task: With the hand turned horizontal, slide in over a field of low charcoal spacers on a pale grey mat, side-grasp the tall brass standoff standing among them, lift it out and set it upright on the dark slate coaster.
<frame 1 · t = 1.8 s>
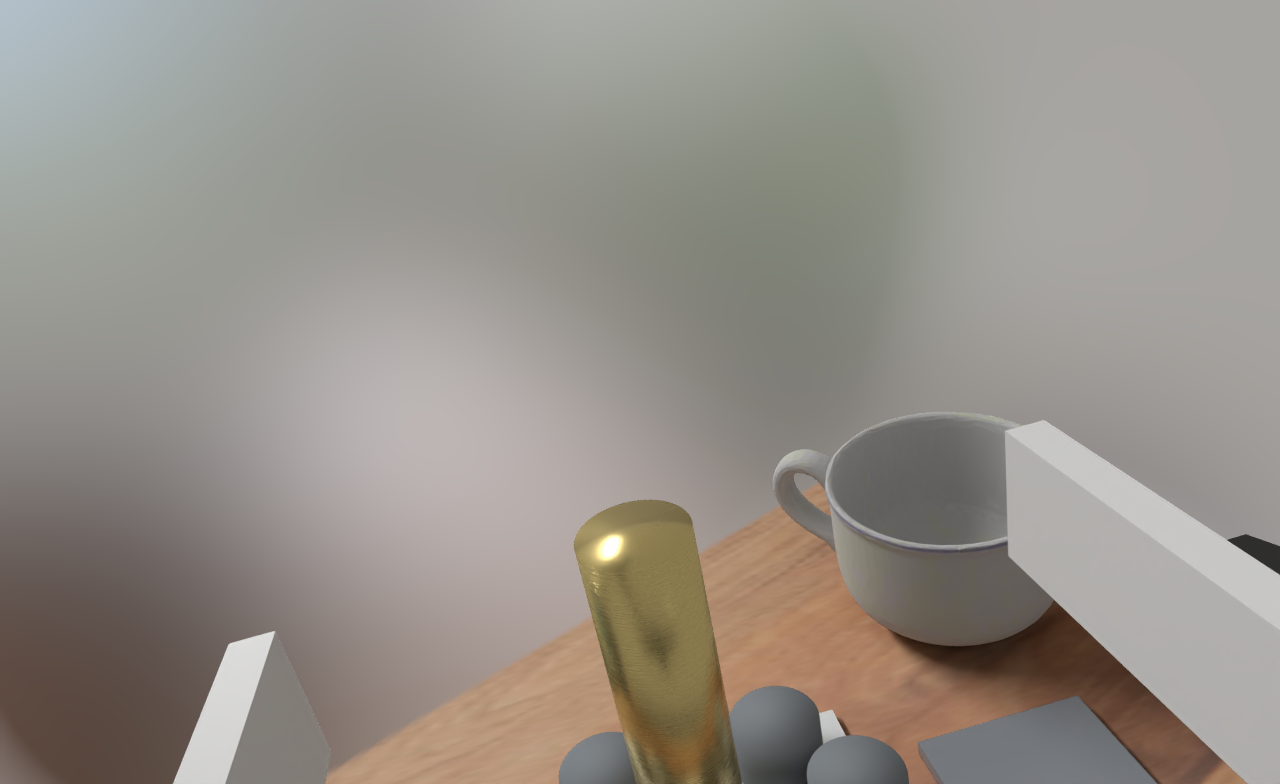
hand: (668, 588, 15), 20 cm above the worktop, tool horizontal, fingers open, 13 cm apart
teacup: (918, 597, 44), on the worktop
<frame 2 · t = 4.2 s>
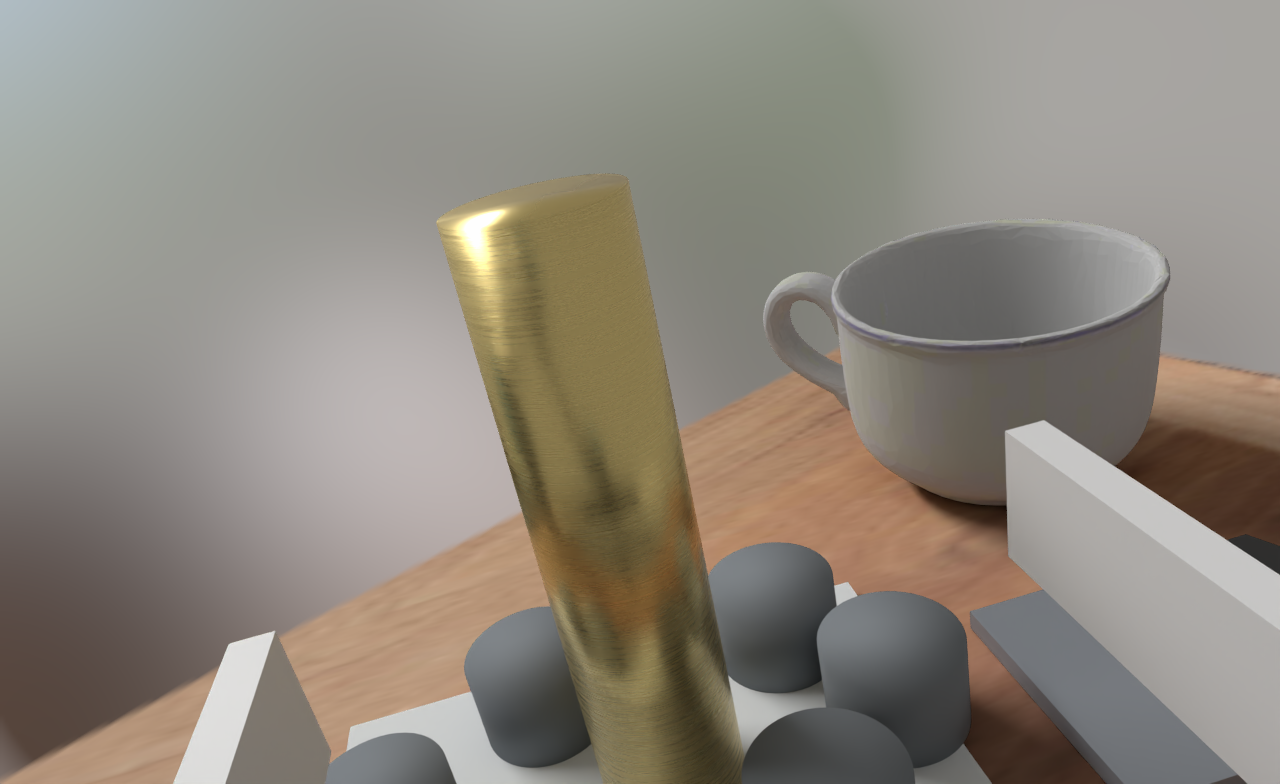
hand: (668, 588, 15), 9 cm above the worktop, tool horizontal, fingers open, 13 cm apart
standoff: (677, 780, 22), resting on spacer mat
teacup: (953, 460, 34), on the worktop
slate coaster: (1167, 673, 22), on the worktop
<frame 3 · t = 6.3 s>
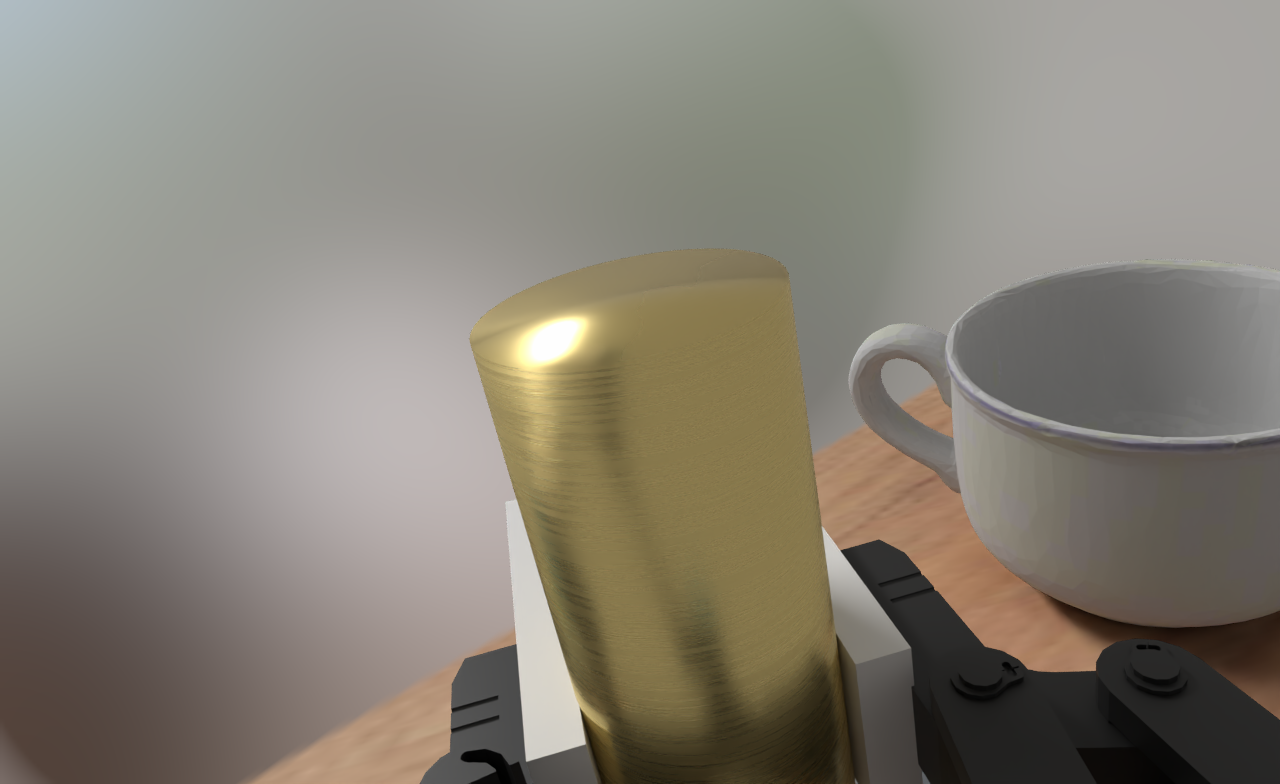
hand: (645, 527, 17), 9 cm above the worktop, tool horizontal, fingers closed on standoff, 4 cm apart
teacup: (1085, 554, 28), on the worktop
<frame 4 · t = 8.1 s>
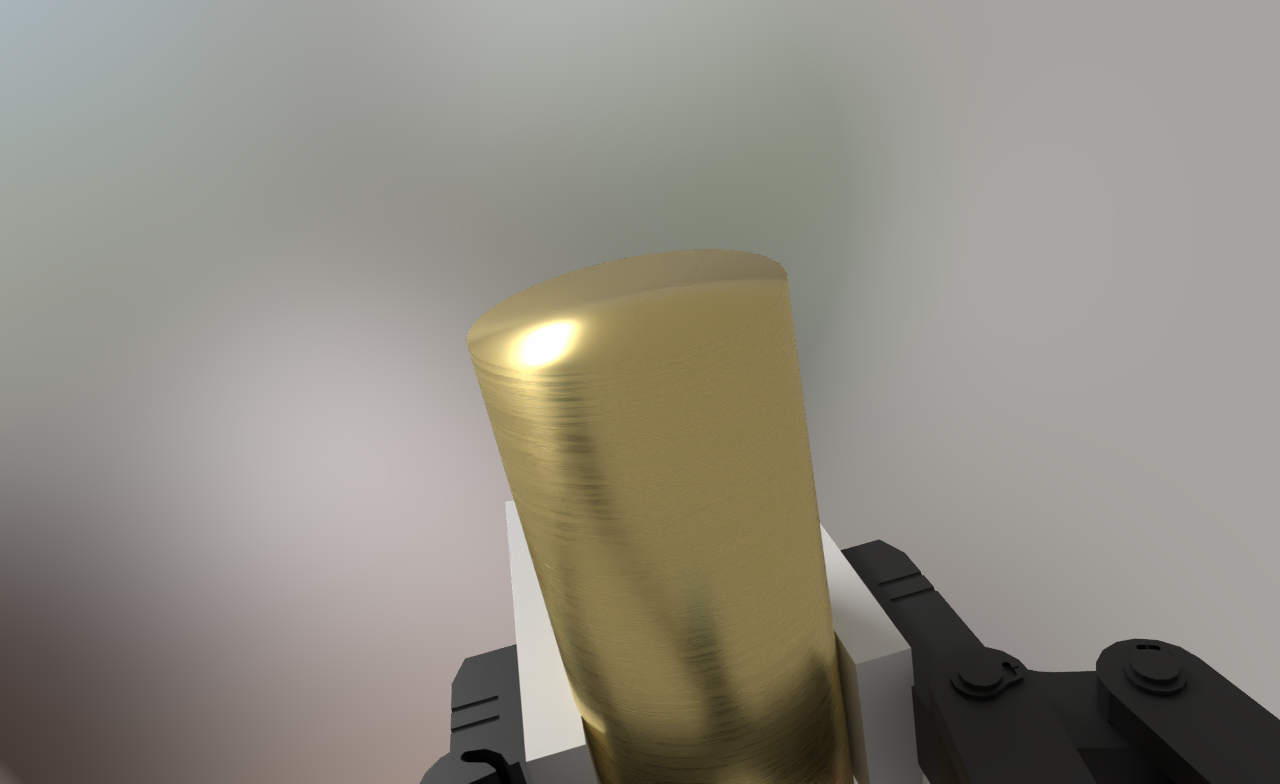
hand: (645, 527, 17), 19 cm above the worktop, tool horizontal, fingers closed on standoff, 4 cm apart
when the fingers open (10 cm above the worktop, at t = 9.9 s): standoff drops 1 cm, resting on slate coaster.
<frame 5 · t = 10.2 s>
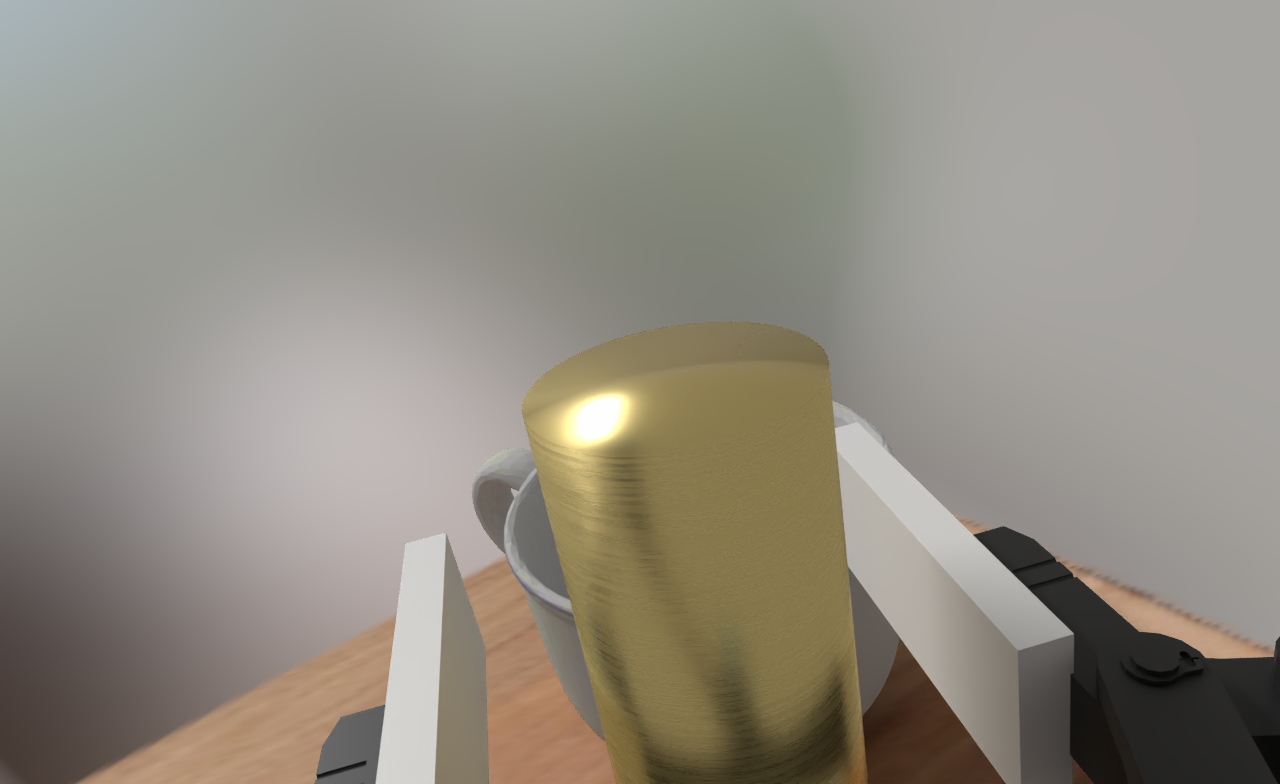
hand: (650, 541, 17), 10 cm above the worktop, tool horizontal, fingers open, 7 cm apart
teacup: (697, 677, 28), on the worktop
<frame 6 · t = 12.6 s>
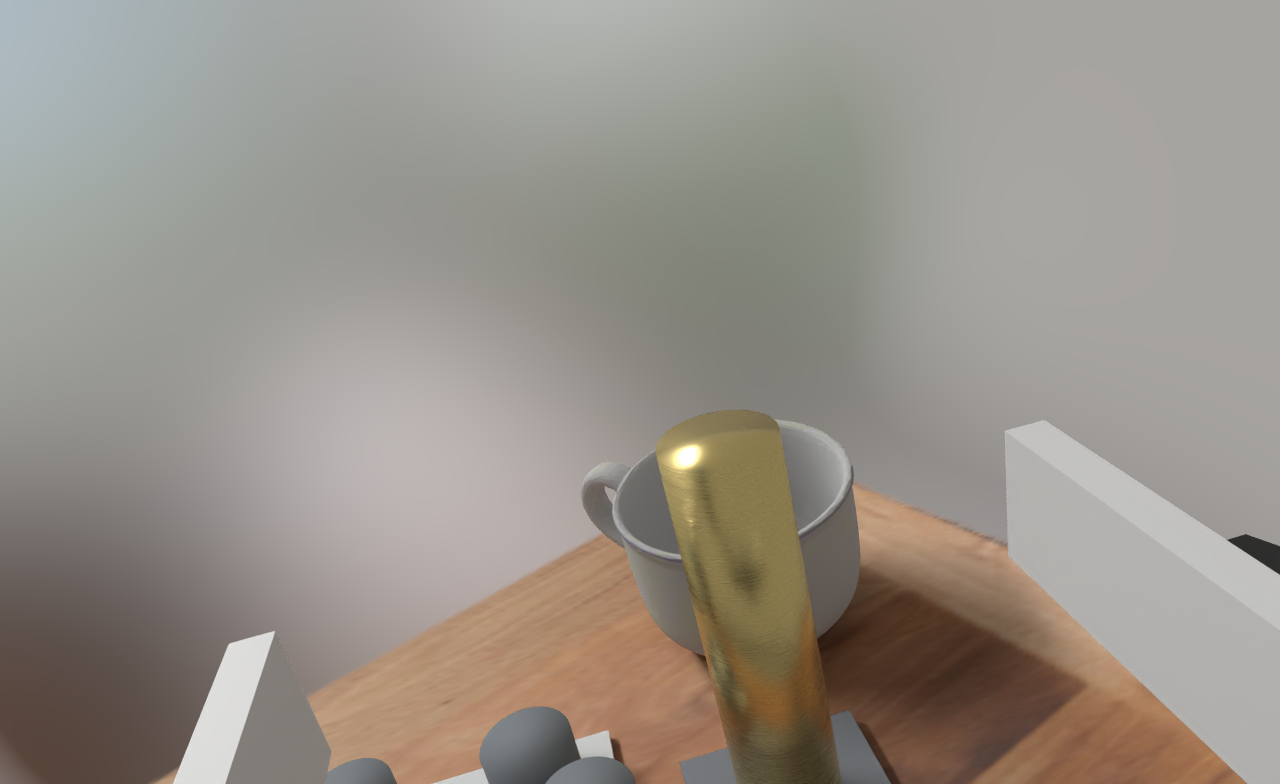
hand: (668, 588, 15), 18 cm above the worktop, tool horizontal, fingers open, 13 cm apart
teacup: (731, 611, 42), on the worktop
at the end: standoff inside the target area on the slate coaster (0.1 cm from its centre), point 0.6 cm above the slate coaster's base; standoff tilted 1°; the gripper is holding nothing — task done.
